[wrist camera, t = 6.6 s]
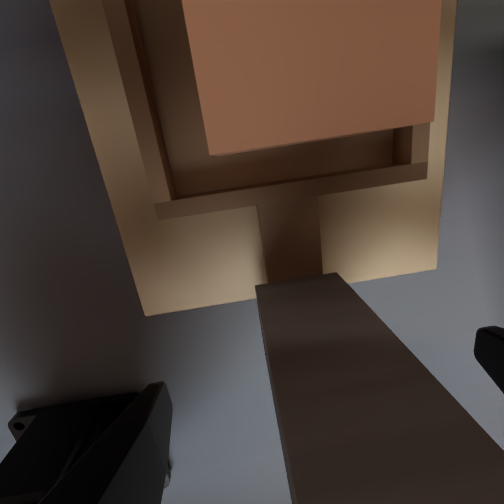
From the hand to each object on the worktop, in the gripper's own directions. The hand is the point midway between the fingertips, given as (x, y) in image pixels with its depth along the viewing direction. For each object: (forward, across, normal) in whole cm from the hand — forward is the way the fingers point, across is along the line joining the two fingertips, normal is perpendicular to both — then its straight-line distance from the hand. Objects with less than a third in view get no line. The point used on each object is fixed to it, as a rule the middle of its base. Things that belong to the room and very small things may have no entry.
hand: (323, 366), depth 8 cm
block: (+3, 0, -8) cm, 8 cm away
